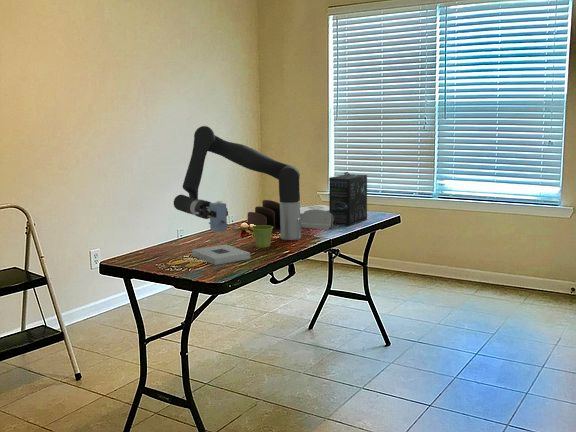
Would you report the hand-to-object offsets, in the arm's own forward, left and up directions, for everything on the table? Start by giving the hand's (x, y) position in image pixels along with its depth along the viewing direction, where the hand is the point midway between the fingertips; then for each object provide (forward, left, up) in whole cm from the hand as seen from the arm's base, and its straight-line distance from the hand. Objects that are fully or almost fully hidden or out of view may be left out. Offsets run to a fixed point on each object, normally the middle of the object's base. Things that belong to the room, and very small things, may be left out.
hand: (221, 214), depth 255 cm
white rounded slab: (-20, -94, -19) cm, 98 cm away
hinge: (-29, -68, -18) cm, 77 cm away
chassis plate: (+1, -1, -18) cm, 18 cm away
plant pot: (-12, -22, -18) cm, 31 cm away
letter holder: (-4, -61, -18) cm, 64 cm away
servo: (+2, -2, -7) cm, 7 cm away
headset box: (-44, -84, -18) cm, 96 cm away
